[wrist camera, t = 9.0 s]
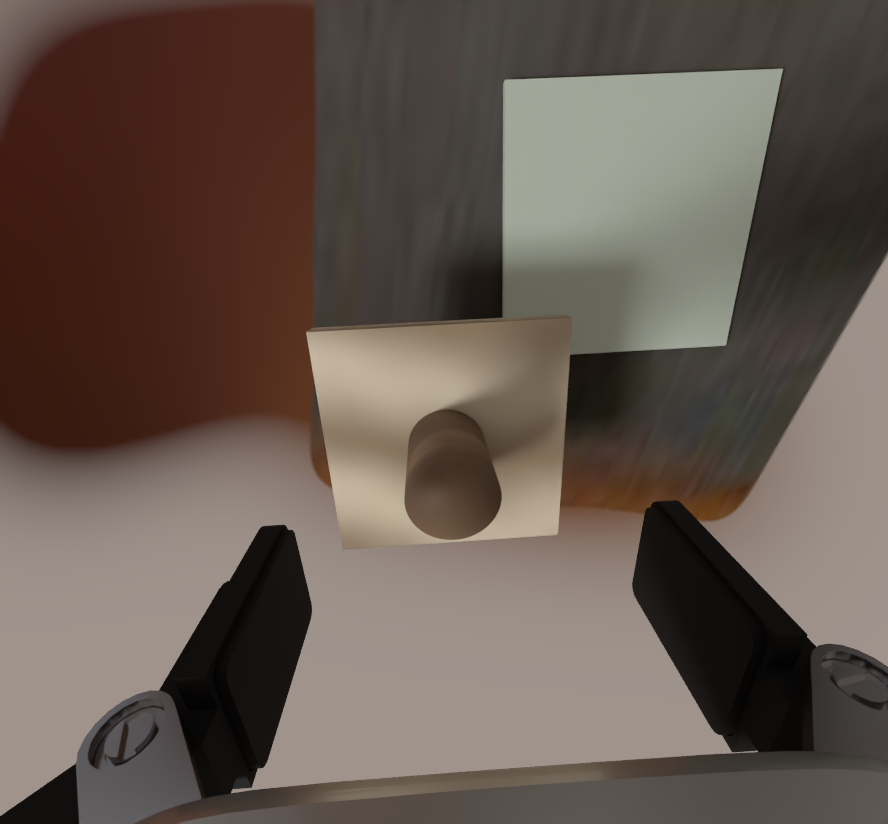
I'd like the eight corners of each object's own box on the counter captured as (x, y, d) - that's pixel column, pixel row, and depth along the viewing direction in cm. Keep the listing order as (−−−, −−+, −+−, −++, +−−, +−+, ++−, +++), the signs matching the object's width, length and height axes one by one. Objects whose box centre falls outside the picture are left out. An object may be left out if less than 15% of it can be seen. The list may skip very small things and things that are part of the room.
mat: (503, 83, 20) (505, 79, 20) (774, 72, 21) (783, 68, 20) (502, 356, 26) (503, 358, 25) (720, 343, 26) (725, 345, 25)
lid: (312, 328, 18) (266, 358, 12) (564, 314, 18) (621, 338, 13) (346, 536, 22) (322, 624, 16) (551, 522, 22) (591, 604, 17)
